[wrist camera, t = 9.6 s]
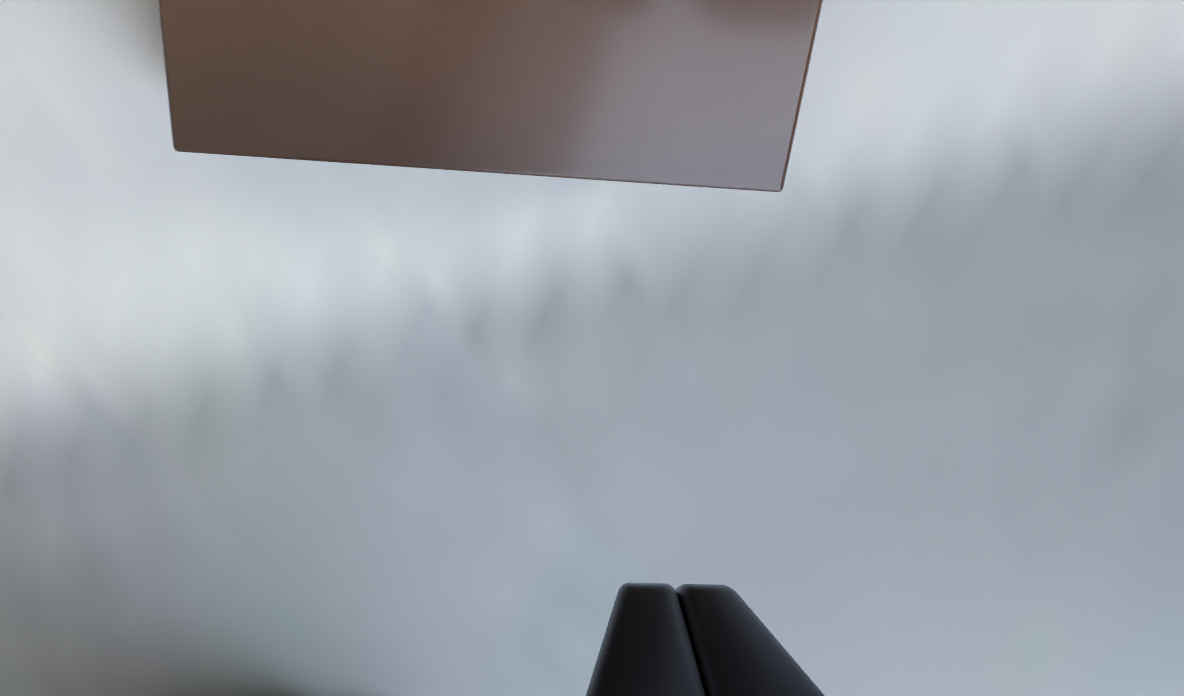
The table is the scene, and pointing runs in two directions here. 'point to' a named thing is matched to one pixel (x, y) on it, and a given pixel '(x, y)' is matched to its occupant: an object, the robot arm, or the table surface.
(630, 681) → the robot arm
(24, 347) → the table surface
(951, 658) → the table surface
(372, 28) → the riser
